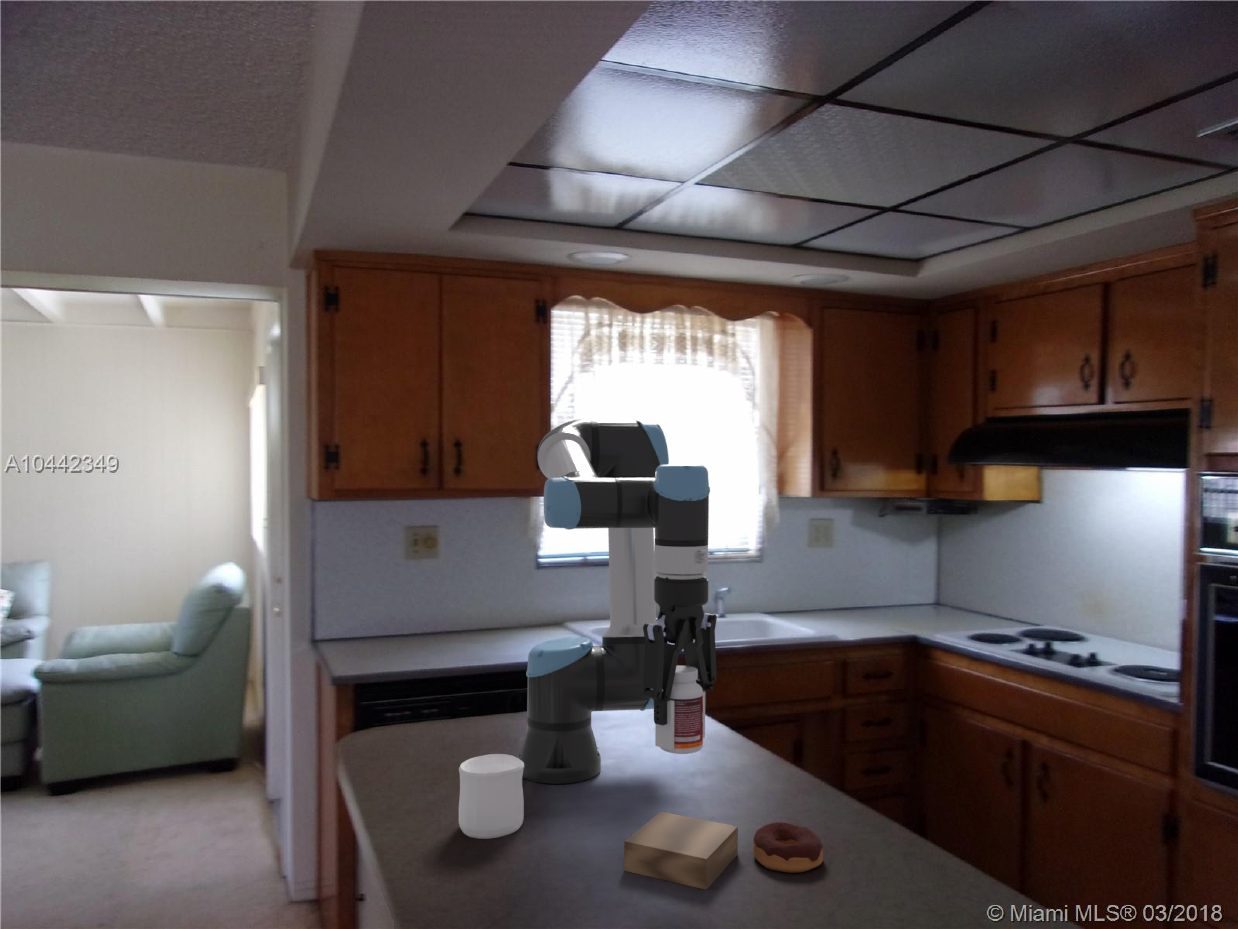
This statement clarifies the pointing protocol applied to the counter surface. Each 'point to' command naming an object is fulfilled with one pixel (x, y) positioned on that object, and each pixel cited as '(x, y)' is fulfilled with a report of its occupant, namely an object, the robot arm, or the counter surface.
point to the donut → (787, 848)
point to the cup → (491, 796)
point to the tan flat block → (681, 849)
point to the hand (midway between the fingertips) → (680, 741)
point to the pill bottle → (687, 711)
